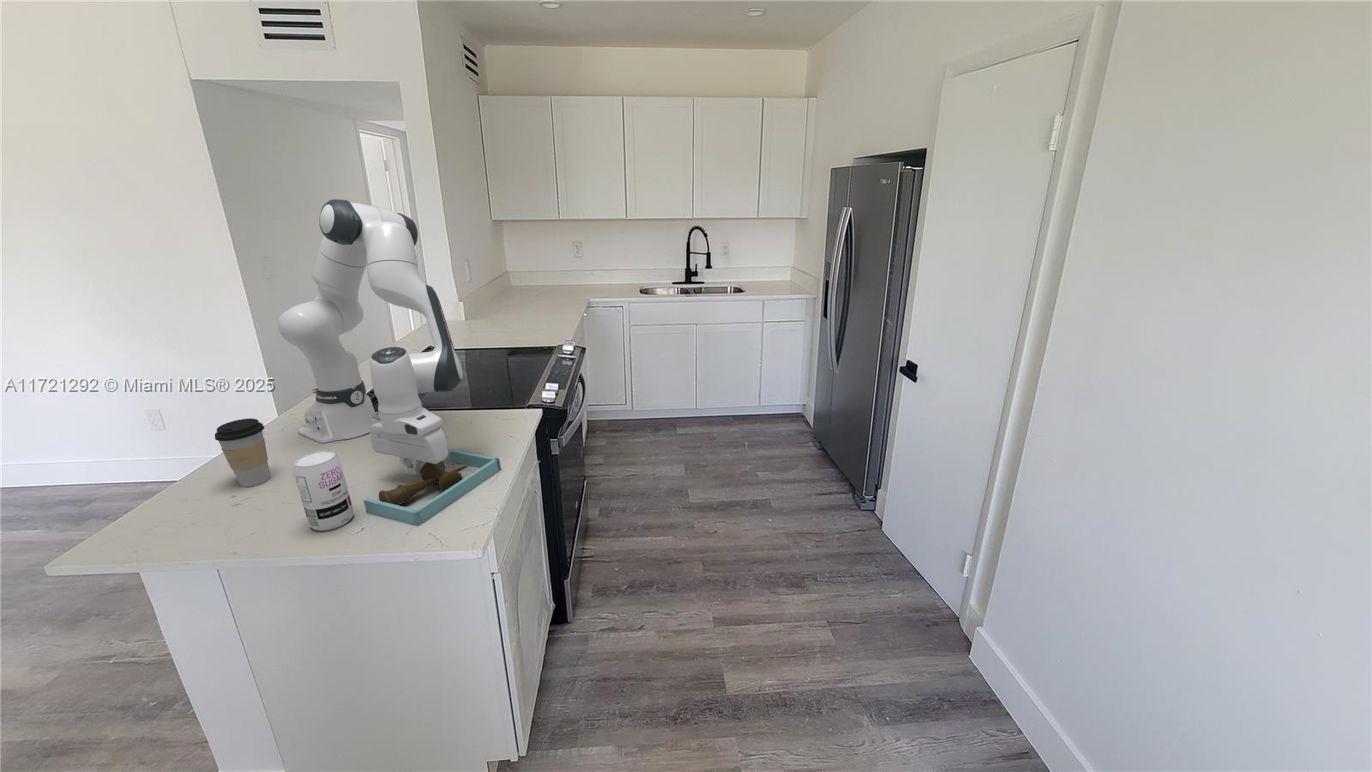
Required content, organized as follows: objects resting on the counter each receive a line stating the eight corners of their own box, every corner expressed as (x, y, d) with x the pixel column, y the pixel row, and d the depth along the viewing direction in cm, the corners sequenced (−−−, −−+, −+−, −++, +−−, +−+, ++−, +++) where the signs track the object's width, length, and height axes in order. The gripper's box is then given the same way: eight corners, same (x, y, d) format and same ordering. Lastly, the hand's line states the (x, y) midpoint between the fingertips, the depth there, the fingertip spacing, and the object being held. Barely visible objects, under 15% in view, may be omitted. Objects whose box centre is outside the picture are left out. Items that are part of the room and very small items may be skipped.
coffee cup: (227, 494, 130) (207, 436, 125) (236, 477, 138) (217, 422, 133) (275, 484, 134) (258, 427, 129) (281, 468, 142) (265, 414, 137)
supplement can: (322, 512, 121) (305, 450, 116) (361, 509, 122) (346, 448, 117) (301, 534, 114) (281, 469, 109) (343, 531, 114) (325, 466, 109)
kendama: (375, 506, 124) (458, 470, 138) (395, 522, 118) (479, 483, 132) (369, 483, 122) (454, 449, 136) (388, 498, 116) (475, 461, 130)
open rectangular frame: (366, 512, 121) (363, 500, 120) (454, 460, 143) (452, 449, 142) (418, 525, 115) (415, 513, 114) (500, 469, 138) (499, 458, 137)
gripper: (358, 418, 127) (371, 472, 132) (425, 430, 120) (436, 486, 124) (381, 408, 132) (393, 460, 137) (447, 419, 125) (457, 473, 130)
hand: (414, 473), depth 131 cm, fingers closed
